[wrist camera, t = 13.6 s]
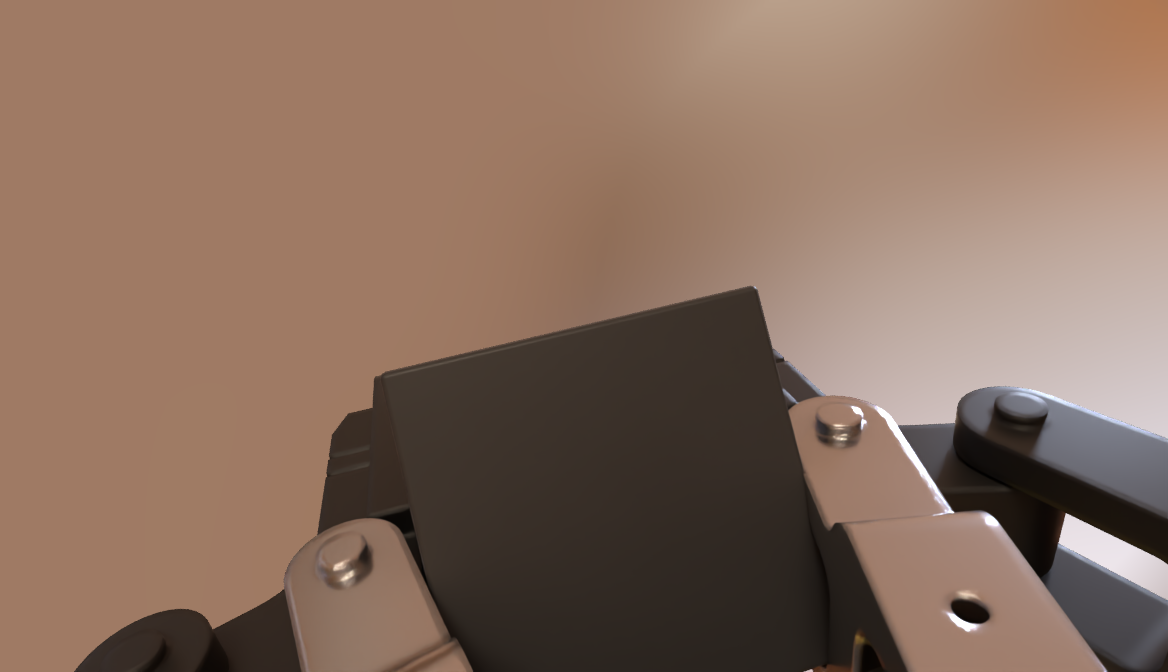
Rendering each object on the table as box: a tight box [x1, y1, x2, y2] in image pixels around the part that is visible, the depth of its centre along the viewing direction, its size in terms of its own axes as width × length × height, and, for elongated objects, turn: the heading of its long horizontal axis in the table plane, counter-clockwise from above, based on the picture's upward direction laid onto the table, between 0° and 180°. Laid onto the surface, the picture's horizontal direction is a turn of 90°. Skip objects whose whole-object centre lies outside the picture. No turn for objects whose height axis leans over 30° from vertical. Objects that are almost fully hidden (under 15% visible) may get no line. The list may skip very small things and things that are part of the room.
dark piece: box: [380, 286, 830, 672], centre depth 17 cm, size 20×4×4 cm, turn 8°
